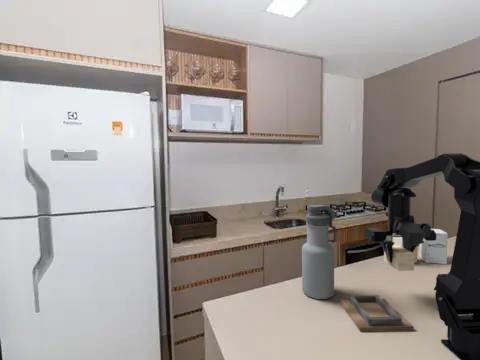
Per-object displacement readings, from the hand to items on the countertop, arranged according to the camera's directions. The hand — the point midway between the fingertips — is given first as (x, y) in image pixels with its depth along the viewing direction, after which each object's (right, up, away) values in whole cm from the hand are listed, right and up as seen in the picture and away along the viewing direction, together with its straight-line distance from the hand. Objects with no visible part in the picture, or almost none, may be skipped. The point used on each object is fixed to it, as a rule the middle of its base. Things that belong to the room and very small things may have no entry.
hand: (398, 262), depth 78 cm
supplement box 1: (+19, -9, +28) cm, 35 cm away
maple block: (0, -1, 0) cm, 1 cm away
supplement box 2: (+31, -9, +28) cm, 43 cm away
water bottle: (-23, -11, +5) cm, 26 cm away
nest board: (-12, -12, -8) cm, 19 cm away
